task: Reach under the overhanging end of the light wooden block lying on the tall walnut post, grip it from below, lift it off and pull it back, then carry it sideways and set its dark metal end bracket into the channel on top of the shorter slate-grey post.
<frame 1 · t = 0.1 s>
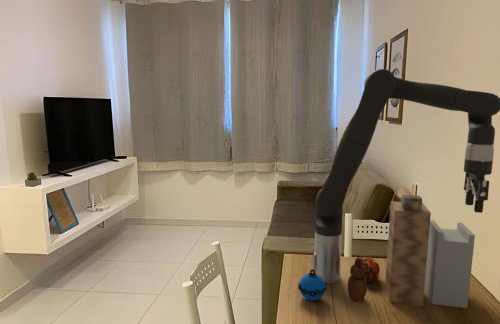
hand: (473, 208, 118), 29 cm above the table, tool pointing down, fingers open, 8 cm apart
wooden figurine: (356, 298, 120), on the table
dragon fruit: (366, 279, 133), on the table
walnut post: (403, 295, 122), on the table
grey post: (444, 296, 121), on the table
ornament: (311, 299, 119), on the table
light wooden block: (407, 202, 122), point 30 cm above the table, touching walnut post
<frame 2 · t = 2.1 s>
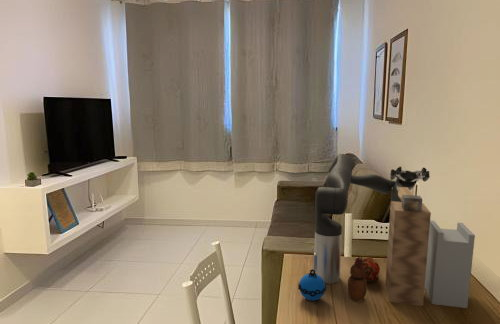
hand: (412, 169, 143), 37 cm above the table, tool pointing upward, fingers open, 8 cm apart
nothing on the table moved.
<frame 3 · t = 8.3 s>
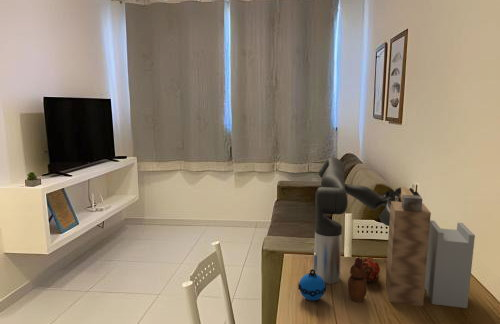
hand: (405, 190, 126), 33 cm above the table, tool pointing upward, fingers closed on light wooden block, 3 cm apart
light wooden block: (407, 202, 122), point 30 cm above the table, touching gripper, walnut post
everything else where it was.
when the fingers open (25 cm above the table, at t = 16.4 s): light wooden block drops 1 cm, resting on grey post.
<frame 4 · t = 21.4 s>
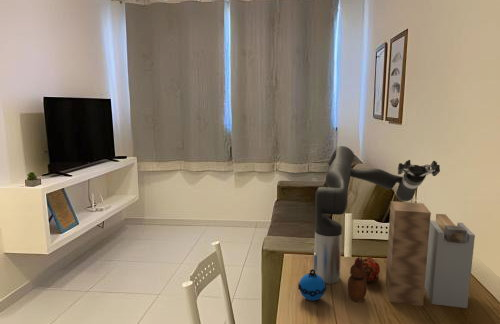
hand: (422, 162, 135), 41 cm above the table, tool pointing upward, fingers open, 8 cm apart
light wooden block: (447, 231, 121), point 21 cm above the table, touching grey post
everything else where it was.
at the end: light wooden block inside the target area on the grey post (0.1 cm from its centre), point 21.0 cm above the grey post's base; light wooden block touching grey post; the gripper is holding nothing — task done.
